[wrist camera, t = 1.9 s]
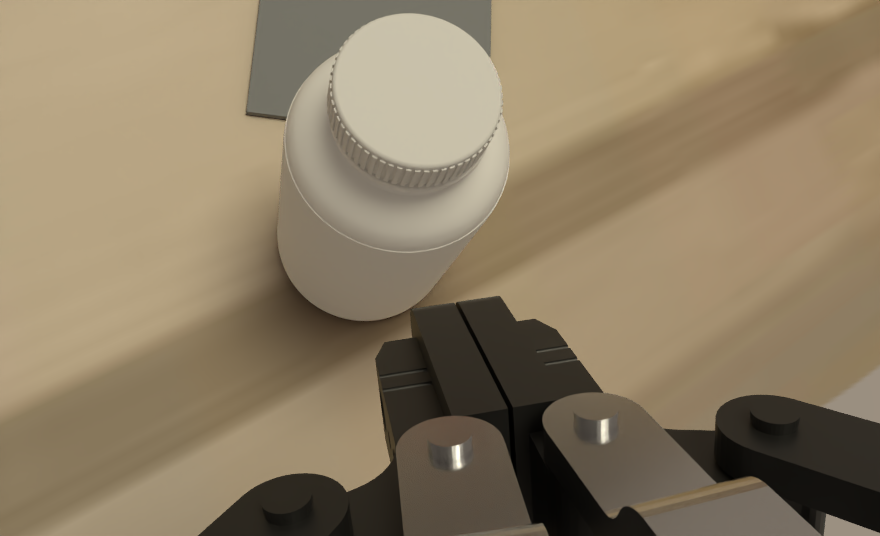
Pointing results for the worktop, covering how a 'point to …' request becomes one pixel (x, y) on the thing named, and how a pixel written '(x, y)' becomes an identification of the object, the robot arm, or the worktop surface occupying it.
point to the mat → (332, 39)
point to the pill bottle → (389, 165)
